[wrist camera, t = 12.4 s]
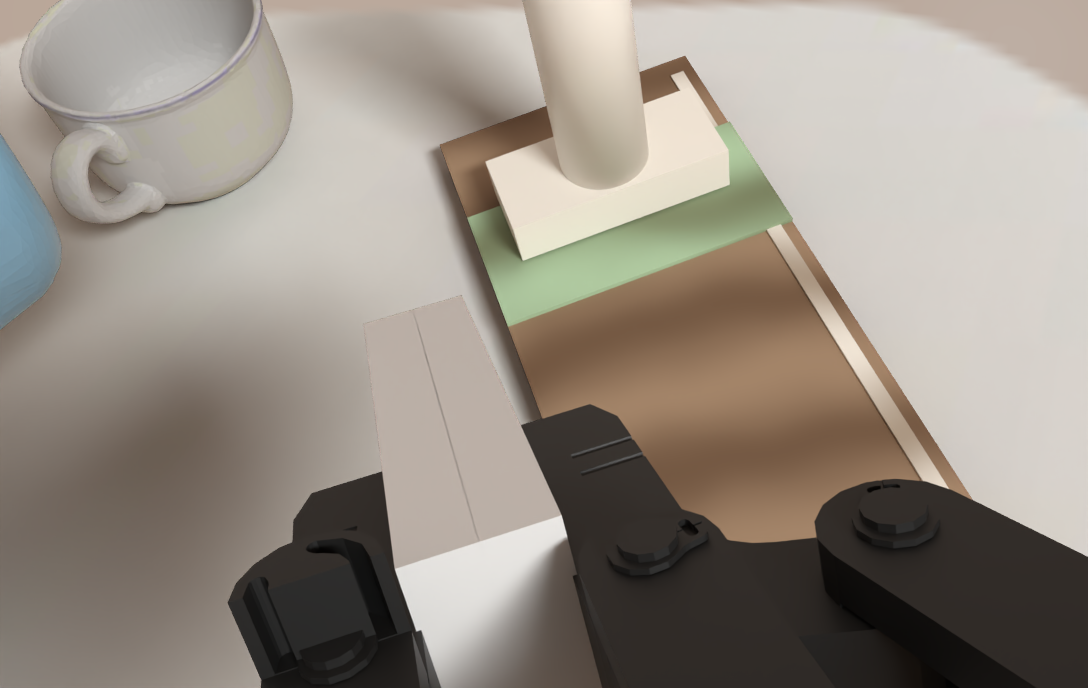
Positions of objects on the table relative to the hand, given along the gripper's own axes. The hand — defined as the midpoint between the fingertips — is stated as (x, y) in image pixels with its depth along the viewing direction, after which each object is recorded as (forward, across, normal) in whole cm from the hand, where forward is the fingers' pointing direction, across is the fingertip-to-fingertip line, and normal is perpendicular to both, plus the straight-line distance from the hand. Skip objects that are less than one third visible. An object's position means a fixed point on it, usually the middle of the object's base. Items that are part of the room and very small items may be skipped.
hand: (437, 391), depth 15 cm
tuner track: (+20, +9, -10) cm, 24 cm away
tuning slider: (+25, +9, -4) cm, 27 cm away
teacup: (+37, -8, -2) cm, 38 cm away
